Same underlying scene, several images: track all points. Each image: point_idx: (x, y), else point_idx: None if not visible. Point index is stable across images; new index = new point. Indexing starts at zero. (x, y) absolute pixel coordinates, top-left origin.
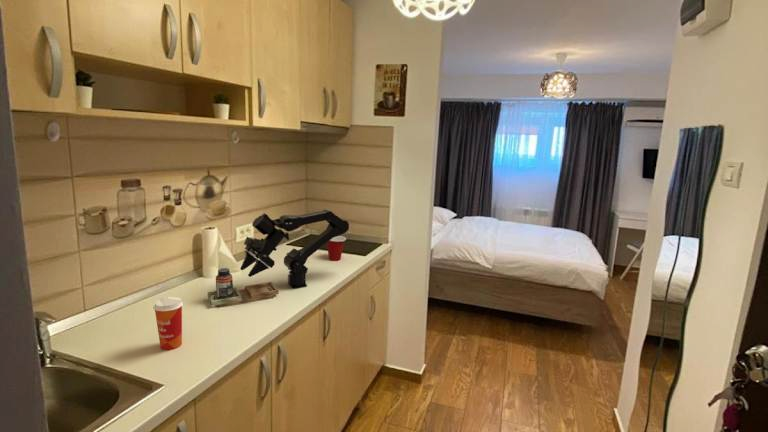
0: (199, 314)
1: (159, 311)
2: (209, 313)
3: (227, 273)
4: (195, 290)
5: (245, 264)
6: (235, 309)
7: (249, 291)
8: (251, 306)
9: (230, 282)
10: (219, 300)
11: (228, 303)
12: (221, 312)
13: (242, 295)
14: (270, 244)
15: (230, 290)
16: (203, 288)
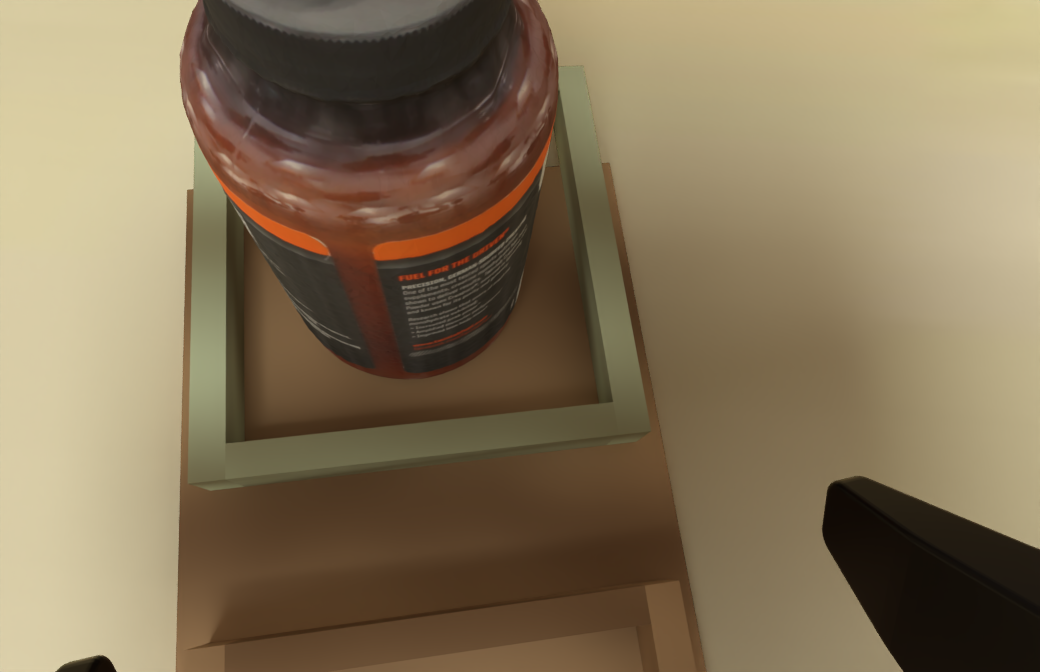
0: (108, 20)
1: None
2: (78, 106)
3: (224, 40)
4: (844, 31)
5: (995, 666)
6: (28, 387)
7: (376, 640)
8: (10, 620)
9: (254, 230)
10: (196, 172)
11: (186, 303)
12: (29, 222)
13: (412, 519)
14: None
15: (287, 292)
16: (894, 104)
